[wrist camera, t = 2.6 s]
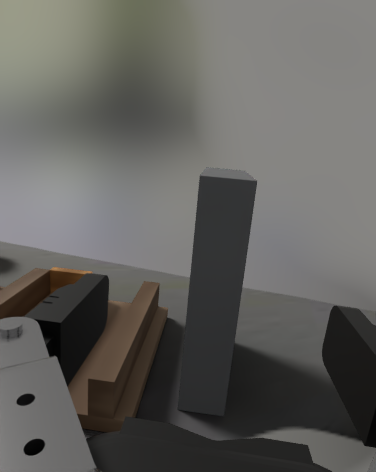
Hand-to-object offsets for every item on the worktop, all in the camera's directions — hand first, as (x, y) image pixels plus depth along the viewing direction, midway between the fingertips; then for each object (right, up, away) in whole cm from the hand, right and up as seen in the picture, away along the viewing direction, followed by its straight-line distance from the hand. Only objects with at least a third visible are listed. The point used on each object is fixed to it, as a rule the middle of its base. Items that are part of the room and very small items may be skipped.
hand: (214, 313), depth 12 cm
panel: (0, -7, +14) cm, 16 cm away
